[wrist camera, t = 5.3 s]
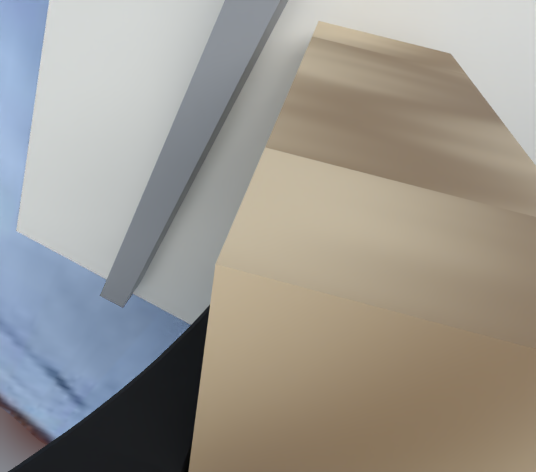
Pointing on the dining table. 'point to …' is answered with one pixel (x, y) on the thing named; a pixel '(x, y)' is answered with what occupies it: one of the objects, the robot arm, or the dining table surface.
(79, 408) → the dining table surface
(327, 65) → the wooden frame
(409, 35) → the white board with bars
